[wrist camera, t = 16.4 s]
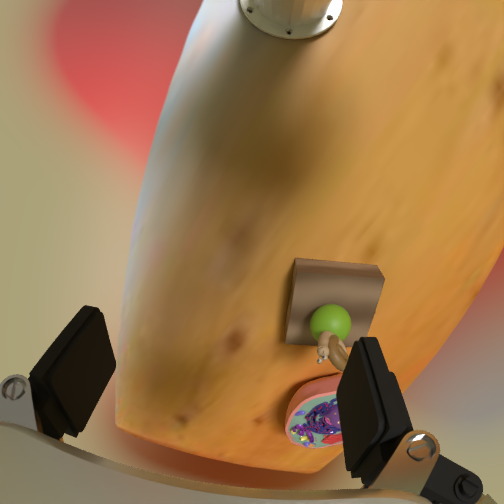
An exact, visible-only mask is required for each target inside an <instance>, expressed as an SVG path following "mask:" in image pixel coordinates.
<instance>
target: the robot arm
mask: <svg viewBox="0 0 504 504" xmlns="http://www.w3.org/2000/svg"><path fill="white" fill-rule="evenodd" d="M239 1H240V4H241V8H242V10H243V12H244V14H245V16H246V17H247V18H248V20H249V21H250V22H251V23H252V24H253V25H254V26H256V27H257V28H259V29H260V30H262V31H263V32H265V33H268V34H270V35H272V36H276V37H279V38H285V39H305V38H311V37H314V36H316V35H319V34H321V33H323V32H325V31H326V30H328V29H329V28H330V27H331V26H332V25H333V24H334V23H335V22H336V20H337V19H338V17H339V15H340V13H341V10H342V3H343V0H239ZM249 11H252V13H249ZM328 18H329V19H331V21H329V20H327V19H328ZM287 32H290V33H291V34H290V35H288V34H287ZM115 368H116V360H115V357H114V354H113V350H112V347H111V343H110V339H109V335H108V331H107V327H106V323H105V319H104V315H103V313H102V312H100V310H99V308H97V307H92V306H87V305H85V306H83V307H82V308H81V309H80V311H79V312H78V313H77V314H76V315H75V316H74V318H73V319H72V320H71V321H70V322H69V324H68V325H67V326H66V327H65V328H64V330H63V331H62V332H61V333H60V335H59V336H58V337H57V338H56V340H55V341H54V342H53V343H52V345H51V346H50V347H49V348H48V350H47V351H46V352H45V354H44V355H43V356H42V357H41V359H40V360H39V361H38V363H37V364H36V365H35V366H34V368H33V369H32V371H31V372H30V373H29V374H30V377H29V378H28V379H27V378H26V377H24V376H23V375H18V374H16V375H11V376H8V377H7V378H5V379H4V380H3V381H2V382H1V384H0V504H497V503H496V502H495V501H494V500H493V499H492V498H491V497H490V496H489V495H488V494H487V495H484V494H483V493H482V492H483V485H482V481H481V480H480V478H479V477H478V476H477V475H475V474H474V473H472V472H471V471H468V470H467V469H465V468H463V467H461V466H459V465H458V464H456V463H454V462H452V461H451V460H449V459H447V458H445V457H444V456H442V455H440V454H439V453H440V445H439V442H438V440H437V439H436V438H435V436H434V435H432V434H430V433H429V432H427V431H424V430H413V427H412V424H411V421H410V417H409V414H408V411H407V408H406V405H405V402H404V399H403V396H402V393H401V390H400V388H399V385H398V382H397V379H396V376H395V375H394V373H393V372H389V370H388V367H387V364H386V361H385V359H384V356H383V353H382V350H381V348H380V345H379V342H378V340H377V338H376V337H360V339H359V341H355V342H354V344H353V347H352V350H351V353H350V355H349V358H348V361H347V364H346V366H345V369H344V372H343V374H342V377H341V380H340V382H339V385H338V387H337V391H336V399H337V406H338V412H339V419H340V426H341V433H342V441H343V448H344V456H345V464H346V470H347V471H351V476H352V478H359V477H361V481H362V483H363V484H364V485H363V486H362V487H361V489H342V490H307V491H306V490H269V489H252V488H242V487H233V486H223V485H217V484H210V483H203V482H197V481H191V480H186V479H181V478H176V477H172V476H167V475H163V474H158V473H154V472H150V471H146V470H143V469H139V468H135V467H132V466H128V465H125V464H122V463H118V462H115V461H112V460H109V459H106V458H103V457H100V456H97V455H94V454H92V453H89V452H86V451H84V450H81V449H78V448H76V447H73V446H71V445H68V444H66V443H64V441H63V438H62V437H63V435H64V433H66V434H68V435H71V436H73V437H77V435H78V433H79V432H82V431H83V430H84V428H85V426H86V424H87V422H88V420H89V418H90V416H91V414H92V412H93V410H94V408H95V407H96V405H97V403H98V401H99V399H100V397H101V395H102V393H103V391H104V389H105V387H106V386H107V384H108V382H109V380H110V378H111V376H112V375H113V373H114V371H115Z"/></svg>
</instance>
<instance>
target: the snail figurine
mask: <svg viewBox="0 0 504 504" xmlns="http://www.w3.org/2000/svg"><path fill="white" fill-rule="evenodd" d="M310 330H311V333H312V335H313V337H314V338H315V339H316V340H317V341H318V349H317V353H318V355H319V356H320V357H322V358H323V360H327V359H328V358H329V360H330V361H331V363H332V364H333V365H334V366H335V367H336V368H337V369H338V370H340V371H344V369H345V366H346V364H347V361H348V358H349V357H348V355H347V350H346V347H345V345H344V343H343V342H342V341H344V340H345V339H346V338H347V336H348V335H349V333H350V330H351V318H350V316H349V314H348V312H347V311H346V310H345V309H344V308H343V307H341V306H339V305H336V304H326V305H323V306H321V307H320V308H318V309H317V310H316V311H315V312H314V314H313V315H312V317H311V320H310ZM327 356H328V357H327ZM320 357H319V359H318V360H317V362H318V363H319V364H321V363H322V359H321V358H320Z"/></svg>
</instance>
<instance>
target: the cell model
mask: <svg viewBox="0 0 504 504" xmlns="http://www.w3.org/2000/svg"><path fill="white" fill-rule="evenodd" d="M342 374H343V373H340V374H336V375H333V376H328V377H323V378H319V379H316V380H313V381H310V382H307V383H305V384H304V385H303V386H301V387H300V388H299V389H298V390H297V391H296V393H295V394H294V395H293V397H292V399H291V400H290V403H289V405H288V408H287V412H286V417H285V431H286V434H287V436H288V438H289V439H290V441H291V443H293V444H295V445H298V446H302V447H306V448H313V449H316V448H325V447H329V446H334V445H339V444H343V441H342V433H341V426H340V419H339V412H338V406H337V399H336V391H337V387H338V385H339V382H340V380H341V377H342Z"/></svg>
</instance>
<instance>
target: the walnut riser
mask: <svg viewBox="0 0 504 504" xmlns="http://www.w3.org/2000/svg"><path fill="white" fill-rule="evenodd" d="M384 281H385V278H384V276H383V275H382V273H381V271H380V270H379V268H378V266H377V265H368V264H357V263H346V262H335V261H324V260H313V259H302V258H295V264H294V271H293V278H292V284H291V291H290V298H289V304H288V310H287V317H286V323H285V344H297V345H313V346H318V341H317V340H316V339H315V338H314V337H313V335H312V333H311V330H310V320H311V317H312V315H313V314H314V312H315V311H316V310H317V309H318V308H320V307H321V306H323V305H326V304H336V305H339V306H341V307H343V308H344V309H345V310H346V311H347V312H348V314H349V316H350V318H351V330H350V333H349V335H348V336H347V338H346V339H345V340H344V341H342V342H343V343H344V345H345V347H353V344H354V342H355V341H359V339H360V337H367V334H368V331H369V328H370V325H371V322H372V319H373V316H374V313H375V310H376V307H377V304H378V301H379V298H380V294H381V291H382V288H383V284H384Z"/></svg>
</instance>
